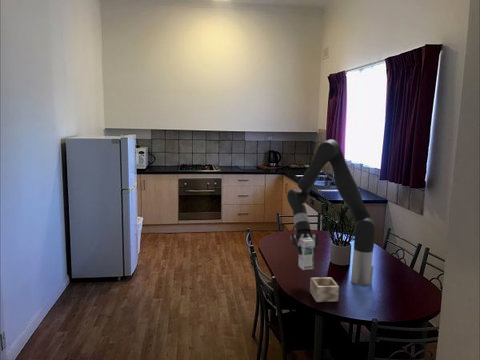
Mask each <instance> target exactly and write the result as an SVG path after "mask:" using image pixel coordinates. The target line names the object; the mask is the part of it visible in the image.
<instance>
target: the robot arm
mask: <svg viewBox="0 0 480 360" xmlns="http://www.w3.org/2000/svg"><path fill="white" fill-rule="evenodd" d="M328 162H329V163H330V166H331V168H332V171H333V178H334V183H335V187H336V190H337V191H338V193H339V196H340V198H341V199H342V201H343V202H344V203H345V206H347V208H348V210H349V211H350V212H351V215H352V217H353V218H352V219H353V221H354V223H355V224H354V225H355V228H354V229H355V230H354V242H353V253H352V255H353V256H352V266H351V276H350V282H351V283H352V284H354V285H355V286H358V287H359V286H360V287H367V286H370V285H373V275H374V266H373V258H374V257H373V256H374V248H375V236H376V223H375V221H374V220H373V218H372V216H371V215H370V213H369V212H368V210H367V208H366V206H365V203H364V201H363V197H362V195H361V192H360V189H359V187H358V186H357V183H356V181H355V179H354V177H353V174H352V173H351V171H350V169H349V167H348V164H347V163H346V160H345V157H344V155H343V152H342V148H341V145H340V144H339V142H338V141H336V140H335V139H327V140H324V141H323V142H321V143H320V144H319V145H318V146H317V150H316V152H315V154H314V157H313V158H312V160H311V163H310V164H309V166H308V167H307V169H306V170H305V172H304V174H303V175H302V176H301V177H300V180H299V181H298V183H297V186H298V188H299V189H300V190H298V189H293V188H292V189H290V190H288V191H287V195H286V198H287V201H288V204H289V206H290V209H291V211H292V215H293V225H294V230H295V234H293V233H291V234H290V241H291V245H292V247H293V248H296V249H297V254H298V256H299V255H301V254H302V252H301V246H300V240H299V238H312V239H313V240H314V241H315V248H314V256H315V255H316V253H317V247H318V246H319V244H320V240H319V234H318V233H315V234H313V233H312V229H311V225H310V220H309V219H310V218H309V216H308V213H307V207H306V206H305V205H304V204H305V203H306V202H307V200H308V198H309V194H310V191H311V189H312V187H313V186H314V184H315V183H316V182H317V180H318V179H319V176H320V173H321V171H322V169H323V168H324V167H325V166H326V164H328ZM296 239H297V240H298V242H296Z"/></svg>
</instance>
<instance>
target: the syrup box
mask: <svg viewBox="0 0 480 360" xmlns="http://www.w3.org/2000/svg"><path fill="white" fill-rule="evenodd" d="M299 240H300V246H301V252H302V254H301V255H299V254H298V267H299V268H300V269H301V270H302V271H305V270H314V268H315V255H314V248H315V239H314V238H313V237H312V238H299ZM299 240H298V241H299Z"/></svg>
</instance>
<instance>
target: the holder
mask: <svg viewBox="0 0 480 360" xmlns="http://www.w3.org/2000/svg"><path fill="white" fill-rule="evenodd" d="M309 286H310V287H309V293H310V295H312V297H313V299H314V301H315V302H316V303H321V302H322V303H323V302H326V303H327V302H328V303H330V302H339V295H340V294H339V293H340V286H339V284H338V283H337V282H336V281H335V280H334V279H333V277H331V276H330V277H329V276H328V277H310V284H309Z"/></svg>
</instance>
